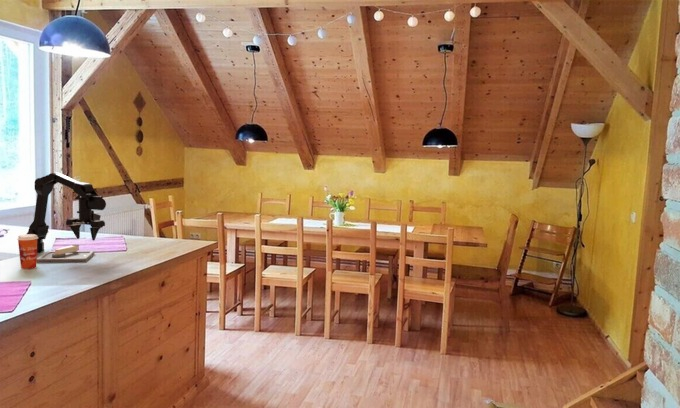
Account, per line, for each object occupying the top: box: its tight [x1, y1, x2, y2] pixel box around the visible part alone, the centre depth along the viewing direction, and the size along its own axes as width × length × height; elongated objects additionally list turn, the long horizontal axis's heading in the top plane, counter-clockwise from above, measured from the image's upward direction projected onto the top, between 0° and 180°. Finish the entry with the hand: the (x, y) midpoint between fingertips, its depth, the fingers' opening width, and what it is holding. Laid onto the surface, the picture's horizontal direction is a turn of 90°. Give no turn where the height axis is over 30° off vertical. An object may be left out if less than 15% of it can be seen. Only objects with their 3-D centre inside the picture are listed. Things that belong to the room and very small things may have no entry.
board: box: [36, 250, 95, 264], centre depth 252 cm, size 22×17×2 cm
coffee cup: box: [16, 233, 38, 270], centre depth 232 cm, size 8×8×15 cm
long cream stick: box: [52, 244, 80, 257], centre depth 254 cm, size 14×6×4 cm, turn 160°
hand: (85, 239), depth 253 cm, fingers open, 9 cm apart
